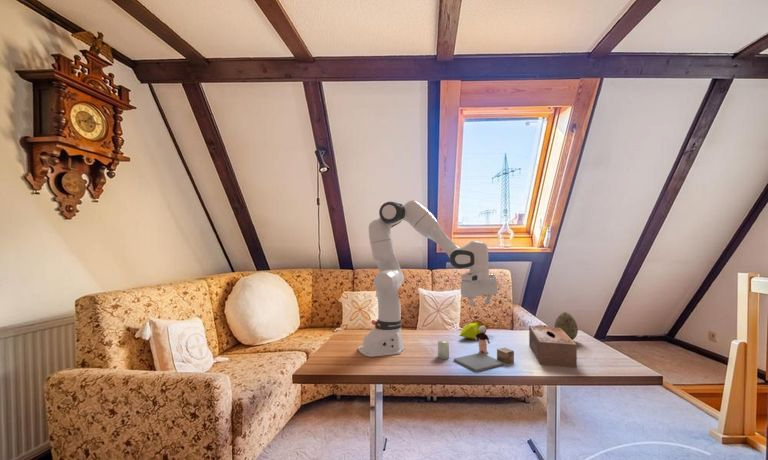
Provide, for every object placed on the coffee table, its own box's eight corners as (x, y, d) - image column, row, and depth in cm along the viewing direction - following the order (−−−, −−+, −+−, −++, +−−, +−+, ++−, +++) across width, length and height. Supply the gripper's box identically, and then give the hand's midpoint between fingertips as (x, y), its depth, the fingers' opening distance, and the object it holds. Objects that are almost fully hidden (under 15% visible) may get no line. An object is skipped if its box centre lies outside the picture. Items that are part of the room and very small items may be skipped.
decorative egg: (553, 337, 187) (552, 309, 187) (575, 338, 184) (575, 310, 184) (556, 343, 177) (556, 313, 177) (579, 345, 174) (579, 315, 174)
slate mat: (476, 372, 140) (476, 369, 140) (453, 360, 152) (453, 358, 152) (504, 365, 148) (504, 362, 148) (480, 354, 160) (480, 352, 160)
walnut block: (505, 364, 149) (505, 352, 149) (497, 360, 153) (497, 349, 153) (513, 362, 151) (513, 350, 151) (505, 358, 156) (504, 347, 156)
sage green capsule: (442, 359, 154) (442, 344, 154) (435, 356, 158) (435, 340, 158) (451, 357, 156) (451, 342, 156) (444, 354, 161) (444, 339, 161)
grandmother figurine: (491, 352, 163) (491, 326, 163) (489, 355, 159) (489, 327, 160) (475, 349, 167) (475, 323, 167) (473, 351, 164) (473, 325, 164)
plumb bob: (467, 345, 176) (499, 331, 189) (463, 327, 177) (495, 314, 190) (455, 344, 183) (487, 331, 197) (451, 327, 184) (482, 315, 198)
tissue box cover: (529, 345, 173) (529, 326, 173) (560, 348, 170) (560, 327, 170) (539, 365, 148) (539, 341, 148) (576, 368, 145) (576, 344, 145)
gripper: (490, 273, 170) (491, 301, 170) (458, 276, 161) (459, 306, 160) (500, 274, 165) (501, 303, 164) (467, 277, 155) (468, 308, 155)
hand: (480, 304), depth 162 cm, fingers open, 8 cm apart
